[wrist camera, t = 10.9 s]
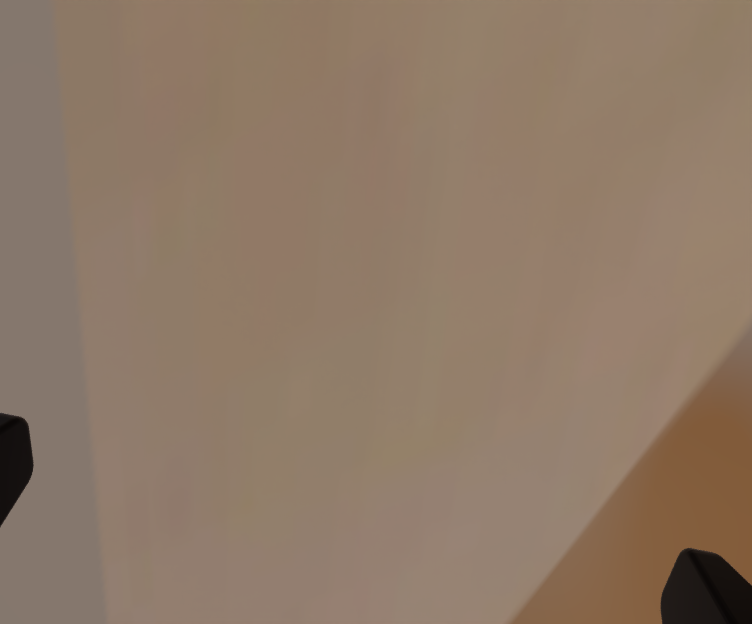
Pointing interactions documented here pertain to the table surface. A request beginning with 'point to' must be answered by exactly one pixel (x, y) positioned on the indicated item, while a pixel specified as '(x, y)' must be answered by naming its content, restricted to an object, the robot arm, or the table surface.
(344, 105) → the table surface
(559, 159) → the table surface
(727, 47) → the table surface
